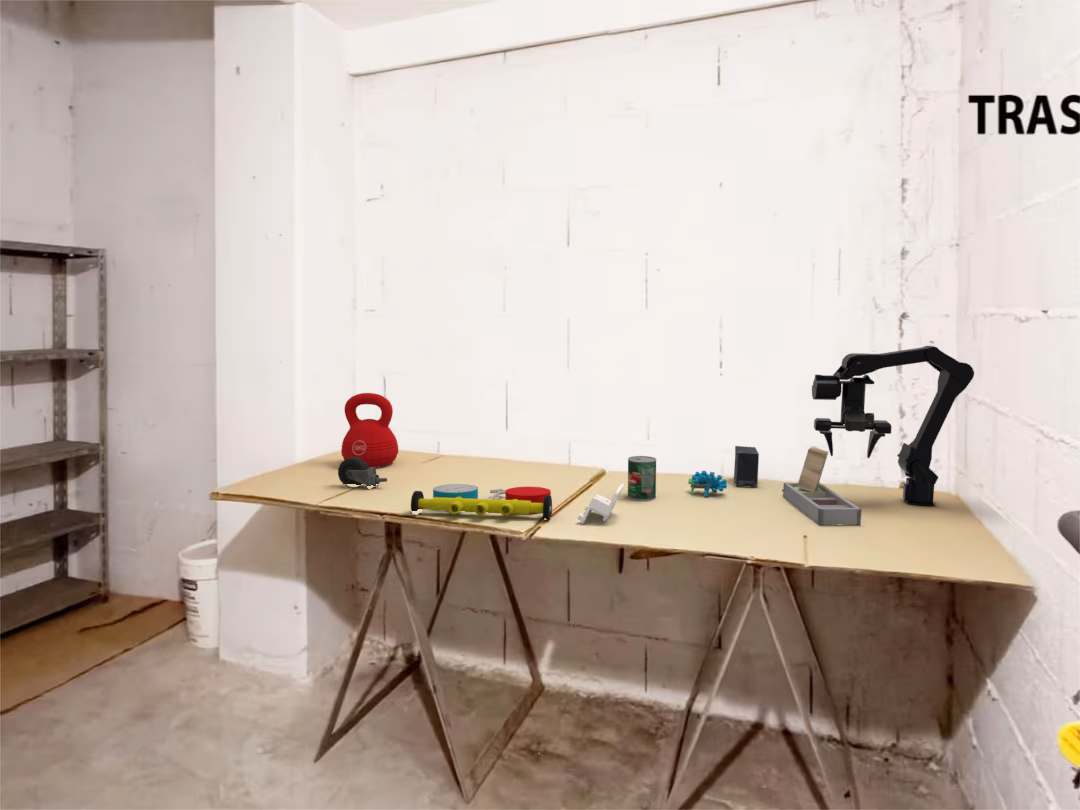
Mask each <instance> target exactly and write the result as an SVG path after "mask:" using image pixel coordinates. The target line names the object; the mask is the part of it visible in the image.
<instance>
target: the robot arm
mask: <svg viewBox="0 0 1080 810" xmlns="http://www.w3.org/2000/svg"><path fill="white" fill-rule="evenodd" d="M919 363H928V364H929V365H930V366H931V367H932V368H933V369H935V370H936V371H937V372H939V375H938V378H937V389H936V390H937V391H936V393H935V396H934V398H933V400H932V402H931V404H930V406H929V408H928V409H927V410H928V411H927V413H926V414H925V416H924V419H923V421H922V423H921V425H920V427H919V429H918V431H917V433H916V435H915V438H913V441H911V442H910V443H909V444H907V443H905V442H903V444H902V445H901V450H900V451H899V453H898V454H897V456H896V457H898V460H897V464H898V466H899V468H900V469H901V470H902V471H903V472H904V474H905V477H906V479H905V483H903V490H902V498H903V500H904V501H905V502H906V503H907V504H908V505H916V506H917V505H919V506H929V507H930V506H931V507H932V506H935V505H936V504H935V502H934V496H935V495H934V494H935V492H934V491H935V484H936V483H937V481H938V479H939V476H938V474H937V473H935V472H934V471H933V470H932V469H931V468H930V466H931V462H932V459H933V458H932V457H933V447H934V446H933V445H934V444H935V442H936V440H937V438H938V436H939V434H940V432H941V429H942V427H943V425H944V423H945V421H946V419H947V417H948V414H949V413H950V411H951V408H952V406H953V404H954V402H955V400H956V399H957V397H959V395H961V393H963V391H965V390H966V389H967V387H968V386H969V384H970V383H971V382H972V381H973V379H974V377H975V376H974V375H975V371H974V368H973V367H972V366H971V365H970V364H968V363H967V362H963V361H962V362H961V361H958V360H957V359H955V358H954V357H952V356H950V355H949V354H946V353H945V352H943V351H942V350H940V349H939V348H938V347H937V346H933V345H924V346H921V347H916V348H909V349H902V350H896V351H895V350H894V351H890V352H889V351H888V352H882V353H864V352H863V353H861V352H859V353H857V352H852V353H849V354H846V355H845V356H844V357H843V359H842V360H841V365H840V366H839V367H838V369H837V370H836V371H835V372H834V373H833V374H832V375H829V374H828V375H823V374H814V379H813V382H812V383H813V384H812V385H811V397H812V399H813V400H816V401H817V400H821V401H835V400H837V398H839V397H841V405H840V421H832V420H831V418H827V417H823V418H822V417H816V418H815V419H814V420H813V429H814V430H815V431H817V432H819V434H820V435H821V434H822V435H823V436H824V438H825V441H826V443H827V447H828V452H829V454H830V456H831V457H833V456H834V444H833V432H832V431H831V430H832V429H839V430H840V429H842V430H843V429H844V430H845V431H847V432H860V433H863V432H865V431H867V430H868V431H869V430H870V431H869V437H868V445H867V450H866V451H867V452H866V455H867V456H866V457H867V459H870V457H871V456H872V453H873V450H874V448H875V447H876V444H877V443H878V442H879V440H880V439H881V438H882V437H883V438H885V437H886V435H890V434H892V424H891V423H890V422H889V421H887V420H884V419H883V420H882V419H880V420H879V419H878V420H877V419H876V420H875V413H874V412H865V403H866V388H867V387H866V386H867V385H874V384H875V381H874V380H873V379H871V377H870V376H869V375H868V374H871V373H873V372H876V371H879V370H881V369H885V368H891V367H897V366H899V367H900V366H905V365H913V364H919ZM861 376H862V377H861Z"/></svg>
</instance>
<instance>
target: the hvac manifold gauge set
mask: <svg viewBox="0 0 1080 810" xmlns="http://www.w3.org/2000/svg"><path fill="white" fill-rule="evenodd" d="M489 493H490V494H493V495H492V496H491V497H490V498H479V488H478V486H476V485H473V484H466V483H451V484H442V485H437V486H435V487H433V489H432V498H425V497H424V492H423V491H421V490H415V491H413V493H412V495H411V499H410V510H412V511H417V510H418V509H423V510H424V509H425V510H432V511H433V510H445V511H444V512H449V513H451V514H458V513H460V511H465V512H464V513H475V514H476V515H478V516H481V515H482V516H483V515H485V514H501V515H502V516H509V515H511V513H512V514H513V515H531V514H542V518H543V517H544V518H546V519H547V520H551V519H550V517H551V518H552V515H551V514H553V513H552V512H553V499H552V498H553V497H552V491H551V489H549V488H546V487H541V486H514V487H510V488H508V489H503V488H496V489H490V490H489ZM500 495H505V496H504V497H505V498H504V499H496V498H498V496H500ZM486 512H488V513H486Z"/></svg>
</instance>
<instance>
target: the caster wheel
mask: <svg viewBox="0 0 1080 810" xmlns="http://www.w3.org/2000/svg"><path fill="white" fill-rule="evenodd" d="M337 475H338V479H339V481H340V482H341V484H343V485H344V484H356V485H361V484H363V485H366V487H367V486H371V485H373V486H376V484H379V485H380V483H387V482H388V477H380V476H379V474H377V468H376V467H368V465H367V464H366V463H365V461H364V460H362V459H360V458H359V457H350V458H347V459H345V460H344V459H343V461H341V462H340V464H339V466H338V469H337ZM361 486H362V485H361Z"/></svg>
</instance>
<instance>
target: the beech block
mask: <svg viewBox="0 0 1080 810" xmlns="http://www.w3.org/2000/svg"><path fill="white" fill-rule="evenodd" d="M828 455H829V450H828V451H827V450H824V449H822V448H817V447H815V446H811V447H809V448H808V450H807V452H806V457H805V459H804V462H803V467H802V469H801V473H800V475H799V479H798V482H797V483H798V485H797V487H799V488H801V489H804V490H807V491H810V492H813V493H814V492H815V491H816V490H817V488H818V484H819V483H820V480H821V478H822V474H823V471H824V468H825V465H826V462H827V458H828Z"/></svg>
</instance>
